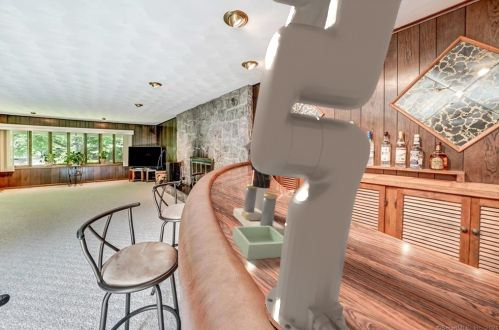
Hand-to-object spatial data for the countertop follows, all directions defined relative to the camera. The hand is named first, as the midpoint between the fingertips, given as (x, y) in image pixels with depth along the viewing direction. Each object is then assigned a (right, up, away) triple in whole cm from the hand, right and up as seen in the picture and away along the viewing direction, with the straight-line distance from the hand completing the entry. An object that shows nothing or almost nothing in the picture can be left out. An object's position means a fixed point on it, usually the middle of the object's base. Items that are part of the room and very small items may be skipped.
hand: (263, 170), depth 74 cm
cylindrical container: (-2, -18, +18) cm, 26 cm away
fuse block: (-2, -19, +2) cm, 19 cm away
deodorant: (-1, -6, 0) cm, 6 cm away
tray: (-2, -20, -16) cm, 26 cm away
